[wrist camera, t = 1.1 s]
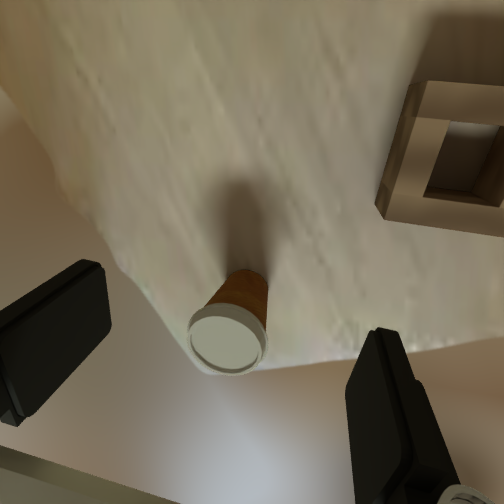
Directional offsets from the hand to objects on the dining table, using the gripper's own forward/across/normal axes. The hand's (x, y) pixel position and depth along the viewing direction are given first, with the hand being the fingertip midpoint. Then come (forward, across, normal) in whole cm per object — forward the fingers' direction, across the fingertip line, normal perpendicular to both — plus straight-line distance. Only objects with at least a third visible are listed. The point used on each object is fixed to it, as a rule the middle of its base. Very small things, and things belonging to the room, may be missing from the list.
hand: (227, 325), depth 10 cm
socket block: (+27, -16, -4) cm, 32 cm away
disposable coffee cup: (+27, +3, +18) cm, 33 cm away
